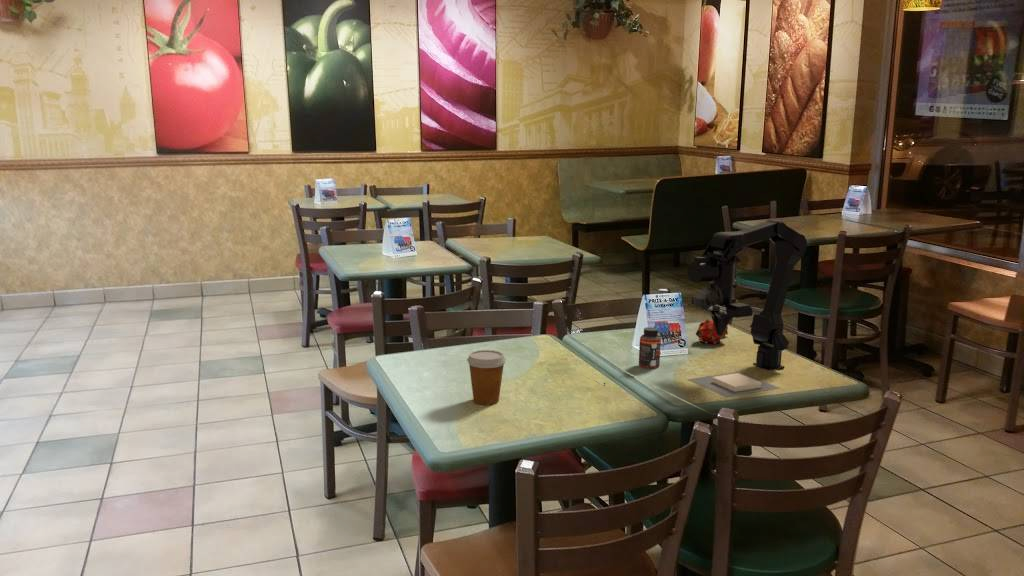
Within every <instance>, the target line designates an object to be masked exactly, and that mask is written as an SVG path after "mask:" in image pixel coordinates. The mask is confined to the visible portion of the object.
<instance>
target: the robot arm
mask: <svg viewBox="0 0 1024 576" xmlns="http://www.w3.org/2000/svg"><path fill="white" fill-rule="evenodd" d="M767 239H769V240H770V241H771V242H772V244H774V248H773V253H774V256H775V261H776V262H775V266H774V270H773V274H772V277H771V281H770V284H769V288H768V291H767V296H766V299H765V303H764V306H763V309H762V310H761V311H760V312H759V313H758V314H756V313H755V314H754V315H753V307H752V306H751V305H750V304H747V303H743V302H738V303H736V300H737V299H736V298H735V297H734V296H733V294H734V289H737V288H738V287H737V286H738V284H737V283H734V282H735V279H734V278H735V269H736V268H735V267H736V264H738V263H739V264H740V263H741V262H742V260H741V258H739V257H738V254H740V253H742V252H743V251H744V250H745V248H746V247H748V246H750V245H753V244H756V243H759V242H763V241H765V240H767ZM807 247H808V240H807V239H806V236H805V235H804V234H802V233H800V232H798V231H796V230H794V229H793V228H792V227H789V226H788V225H787V224H786V223H785V222H783V221H781V220H775V219H769V220H766V221H764V222H762V223H761V222H760V224H759V223H758V224H756V225H753V226H750V227H747V228H744V229H741V230H737V231H720V232H718V231H717V232H715V233H713V235H712V237H711V238H710V241H709V243H708V244H707V246H706V247H705V249H704V250H703V252H702V254H701V256H694V257H693V261H692V262H690V264H689V266H688V268H687V277H688V278H689V280H690V281H691V283H694V284H696V283H697V284H700V283H705V282H706V283H707V282H708V283H707V285H706V286H707V288H705V289H703V290H701V291H699V292H697V293H694V294H693V295H692V297H691V304H690V305H694V307H695V308H699V309H701V310H703V311H705V312H707V313H708V315H709V316H711V320H712V321H713V323H714V326H715V330H716V334H717V335H718V336H721V335H722V334H723V332H724V330H725V329H726V327H727V326H729V323H730V322H731V320H732V319H733V318H737V319H738V318H746V317H752V322H751V325H750V326H749V328H750V334H751V337H752V341H753V344H754V345H758V346H757V351H756V361H755V362H753V363H752V365H753V366H755V367H757V368H760V369H761V368H762V369H764V370H767V371H773V370H775V369H776V370H781V369H782V368H783V369H785V366H784V365H782V354H783V352H784V350H787V349H788V347H789V344H790V341H789V339H788V338H787V337H786V336H785V334H784V333H783V332H784V324H785V323H784V322H783V317H782V312H783V309H784V304H785V302H786V301H785V300H786V298H787V293H788V290H789V286H790V282H791V279H792V275H793V272H794V269H795V266H796V265H797V264H798V262H800V261H801V259H803V257H804V254H805V252H806V250H807ZM733 297H734V298H733Z"/></svg>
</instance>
